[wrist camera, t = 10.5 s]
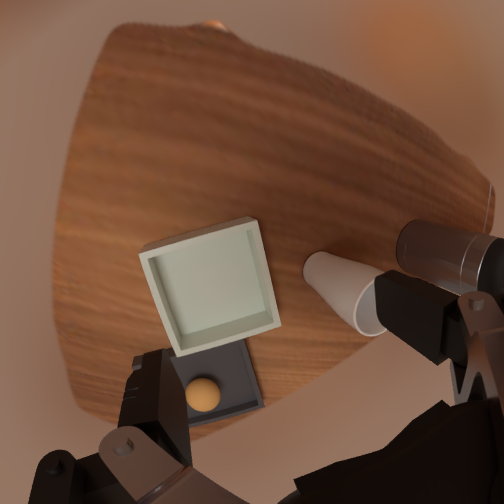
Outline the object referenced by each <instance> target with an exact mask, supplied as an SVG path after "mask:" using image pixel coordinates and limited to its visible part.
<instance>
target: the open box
mask: <svg viewBox="0 0 504 504" xmlns="http://www.w3.org/2000/svg"><path fill="white" fill-rule="evenodd" d="M139 257H140V260H141V264H142V267H143V270H144V273H145V275H146V278H147V281H148V284H149V287H150V290H151V293H152V295H153V298H154V301H155V304H156V306H157V309H158V312H159V314H160V317H161V319H162V322H163V324H164V327H165V330H166V332H167V334H168V337H169V339H170V342H171V344H172V347H173V349H174V351H175V354H176V356H177V357H181V356H184V355H188V354H192V353H195V352H199V351H203V350H206V349H210V348H213V347H217V346H220V345H223V344H227V343H230V342H233V341H237V340H240V339H243V338H246V337H249V336H252V335H256V334H259V333H262V332H265V331H268V330H271V329H274V328H277V327H280V326H281V322H280V318H279V313H278V309H277V304H276V300H275V296H274V291H273V287H272V282H271V278H270V273H269V269H268V265H267V260H266V256H265V252H264V247H263V243H262V239H261V234H260V230H259V226H258V221H257V220H256V219H253V218H251V217H249V216H246V217H242V218H238V219H235V220H231V221H227V222H224V223H220V224H216V225H213V226H209V227H206V228H202V229H199V230H195V231H192V232H188V233H185V234H181V235H178V236H174V237H171V238H167V239H164V240H161V241H157V242H154V243H151V244H147V245H144V247H143V248H142V249H141V251H140V252H139Z"/></svg>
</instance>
